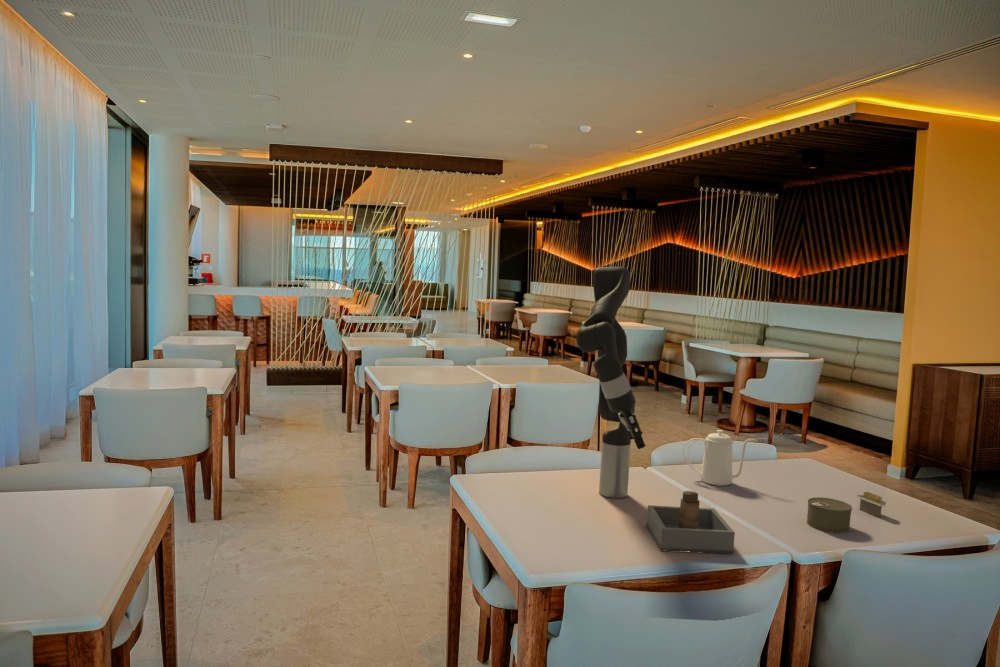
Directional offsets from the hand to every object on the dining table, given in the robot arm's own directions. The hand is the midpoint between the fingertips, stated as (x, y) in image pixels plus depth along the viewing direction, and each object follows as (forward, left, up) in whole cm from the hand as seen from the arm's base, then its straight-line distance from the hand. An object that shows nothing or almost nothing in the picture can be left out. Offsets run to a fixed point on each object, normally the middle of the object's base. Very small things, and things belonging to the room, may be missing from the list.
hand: (637, 442), depth 202 cm
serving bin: (+6, +14, -25) cm, 29 cm away
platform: (-25, +80, -26) cm, 88 cm away
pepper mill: (+6, +14, -24) cm, 28 cm away
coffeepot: (-52, +39, -25) cm, 70 cm away
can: (-11, +60, -25) cm, 66 cm away
